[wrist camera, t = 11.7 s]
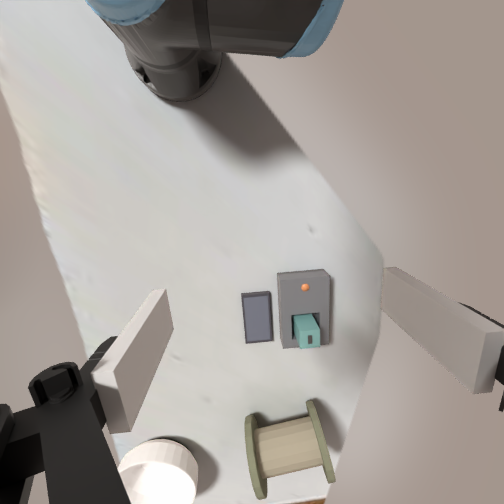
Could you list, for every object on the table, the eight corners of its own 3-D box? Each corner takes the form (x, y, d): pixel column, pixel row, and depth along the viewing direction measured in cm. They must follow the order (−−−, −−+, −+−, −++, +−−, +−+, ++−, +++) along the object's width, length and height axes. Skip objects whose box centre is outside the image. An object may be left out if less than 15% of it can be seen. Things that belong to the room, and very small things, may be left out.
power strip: (277, 273, 54) (280, 280, 50) (323, 268, 54) (330, 276, 50) (280, 337, 59) (283, 349, 55) (322, 333, 59) (329, 344, 55)
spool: (257, 444, 68) (263, 516, 53) (243, 402, 64) (245, 467, 49) (318, 430, 68) (339, 498, 53) (308, 386, 63) (328, 448, 49)
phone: (245, 340, 58) (245, 343, 57) (241, 293, 55) (241, 295, 54) (271, 338, 59) (272, 341, 58) (268, 290, 55) (269, 293, 54)
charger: (292, 313, 56) (299, 332, 49) (310, 311, 56) (320, 330, 49) (292, 328, 57) (300, 349, 50) (310, 327, 57) (320, 347, 50)
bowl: (205, 476, 70) (201, 515, 62) (133, 484, 70) (120, 525, 61) (196, 422, 65) (189, 457, 56) (117, 430, 64) (100, 467, 56)
